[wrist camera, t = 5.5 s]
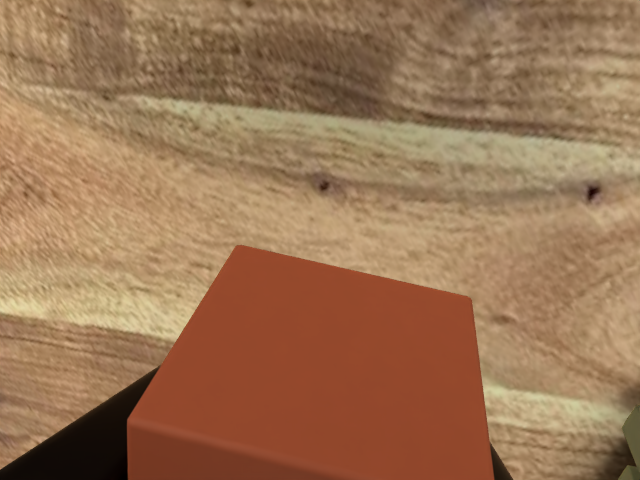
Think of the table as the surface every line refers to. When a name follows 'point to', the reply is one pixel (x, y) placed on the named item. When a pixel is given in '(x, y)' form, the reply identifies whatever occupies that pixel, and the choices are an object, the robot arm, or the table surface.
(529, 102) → the table surface
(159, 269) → the table surface
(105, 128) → the table surface
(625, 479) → the drawer
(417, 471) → the block
